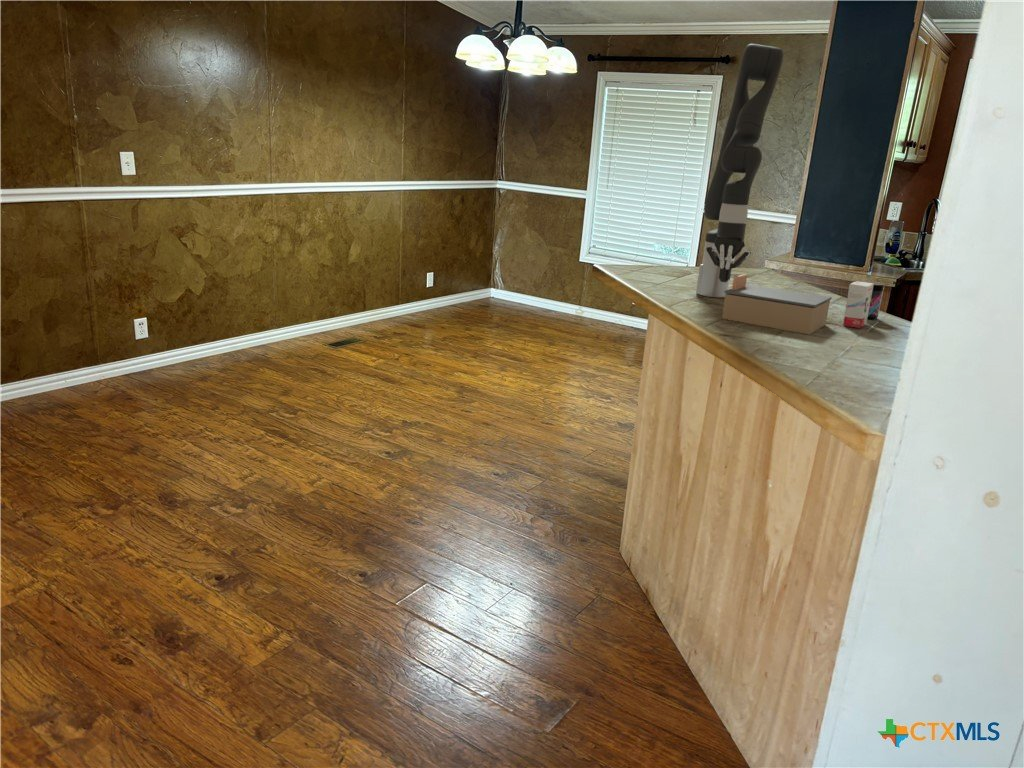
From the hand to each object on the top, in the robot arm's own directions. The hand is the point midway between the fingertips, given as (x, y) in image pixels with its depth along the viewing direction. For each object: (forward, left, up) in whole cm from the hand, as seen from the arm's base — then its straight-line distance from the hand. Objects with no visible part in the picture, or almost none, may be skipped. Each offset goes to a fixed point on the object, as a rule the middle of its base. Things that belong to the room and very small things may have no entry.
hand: (724, 281), depth 211 cm
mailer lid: (+16, 0, -2) cm, 16 cm away
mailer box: (+16, 0, -9) cm, 18 cm away
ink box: (+34, +15, -9) cm, 38 cm away
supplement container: (+34, +29, -9) cm, 45 cm away
